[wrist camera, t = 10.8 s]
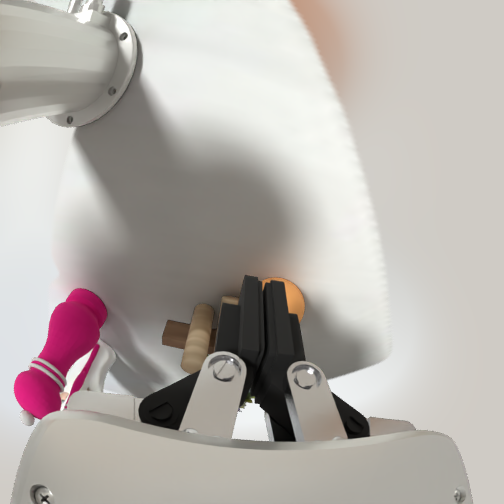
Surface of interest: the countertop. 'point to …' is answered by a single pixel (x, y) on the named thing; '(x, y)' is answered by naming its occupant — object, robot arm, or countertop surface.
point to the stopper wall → (182, 335)
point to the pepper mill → (59, 354)
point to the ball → (291, 297)
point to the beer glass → (89, 372)
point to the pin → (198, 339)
